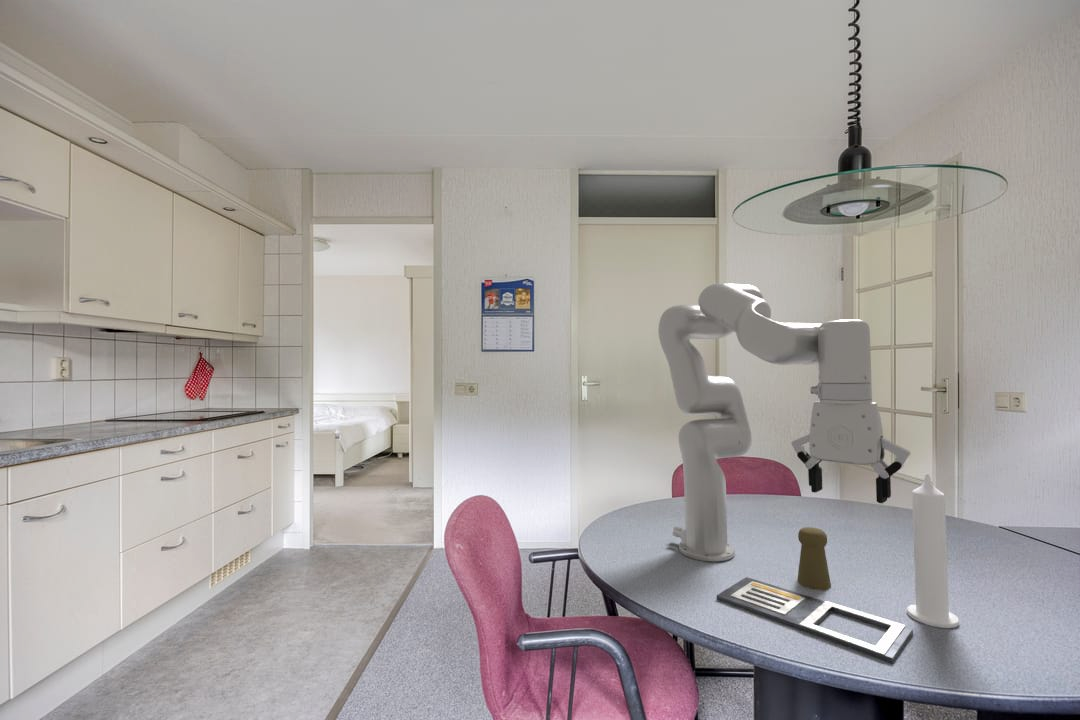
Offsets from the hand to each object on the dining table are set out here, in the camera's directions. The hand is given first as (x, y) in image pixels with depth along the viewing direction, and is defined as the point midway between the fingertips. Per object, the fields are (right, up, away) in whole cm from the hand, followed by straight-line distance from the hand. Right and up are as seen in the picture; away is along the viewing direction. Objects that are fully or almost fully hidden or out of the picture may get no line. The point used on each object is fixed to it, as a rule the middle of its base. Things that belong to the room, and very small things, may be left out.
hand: (848, 496), depth 83 cm
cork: (+4, -23, +18) cm, 29 cm away
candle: (+17, -22, +3) cm, 28 cm away
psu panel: (-4, -23, +5) cm, 23 cm away
